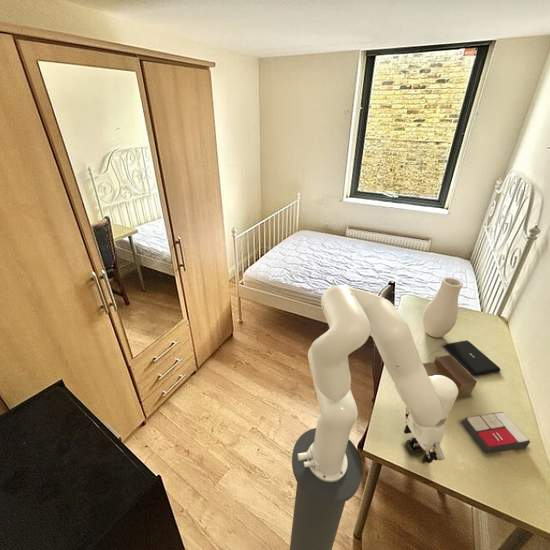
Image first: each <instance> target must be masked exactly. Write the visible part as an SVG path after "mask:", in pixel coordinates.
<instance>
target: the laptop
mask: <svg viewBox="0 0 550 550" xmlns="http://www.w3.org/2000/svg"><path fill="white" fill-rule="evenodd" d="M443 347H444V348H445V349H446V350H447V351H448V352H449V353H450V355H451V356H452V357H453V358H454V359H455V360H456V361H457V362H458V363H459V364H460V365H461V366H462V367H463V368H464V369H465V370H466V371H467V372H469V373H470V374H471V375H472V376H474V377H479V376H485V375H490V374H494V373H499V372H501V367H499V366H498V365H497V364H496V363H495V362H493V361H492V359H490V358H489V357H488V356H487V355H485V353H484V352H482V351H481V350H480V349H478V348H477V347H476V346H475V345H474V344H473V343H472V342H471V341H469V340H461V341H456V342H455V341H454V342H449V343H446V344H444V346H443Z"/></svg>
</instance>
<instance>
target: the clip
mask: <svg viewBox="0 0 550 550" xmlns="http://www.w3.org/2000/svg"><path fill="white" fill-rule="evenodd" d="M404 447H405V448H406V450H407V452H408V454H409V455H410V456H415V455H419V454H425V453H426V451H425V450H424V449H423V448H422V447H421V446H420V444H419V443H418V441H417V440H416V438H415V437H411V438H410V439H408V440H406V442H405V444H404Z"/></svg>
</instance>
